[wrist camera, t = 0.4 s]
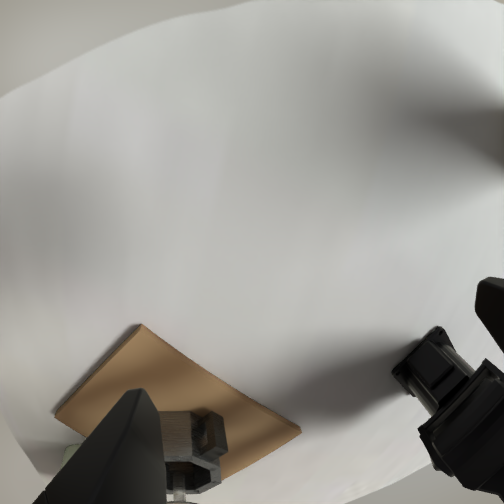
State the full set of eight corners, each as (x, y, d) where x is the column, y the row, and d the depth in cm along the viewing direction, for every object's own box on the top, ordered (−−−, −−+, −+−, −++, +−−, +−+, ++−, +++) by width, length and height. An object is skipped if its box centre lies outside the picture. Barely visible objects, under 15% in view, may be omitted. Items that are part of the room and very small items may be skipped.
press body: (245, 423, 25) (254, 465, 21) (183, 461, 26) (185, 500, 22) (185, 388, 22) (186, 435, 18) (125, 433, 23) (120, 474, 19)
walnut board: (299, 426, 27) (302, 432, 27) (201, 484, 29) (202, 490, 28) (141, 323, 21) (140, 330, 20) (56, 411, 23) (54, 417, 22)
